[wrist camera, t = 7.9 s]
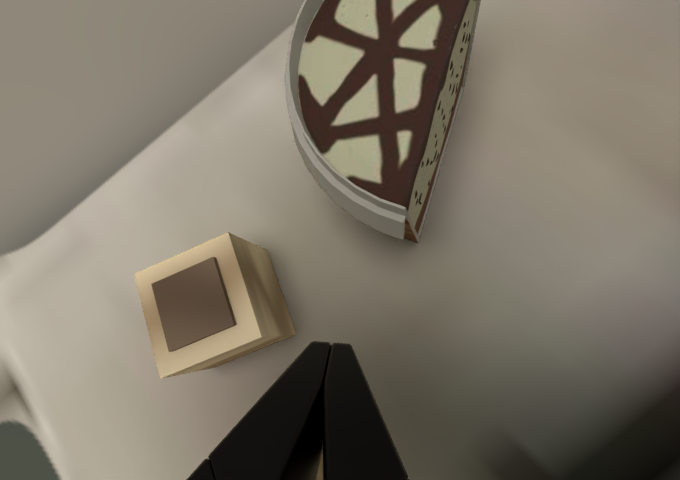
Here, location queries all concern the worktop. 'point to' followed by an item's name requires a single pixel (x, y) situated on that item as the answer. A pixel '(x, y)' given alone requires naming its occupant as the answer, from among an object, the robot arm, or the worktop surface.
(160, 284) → the number block
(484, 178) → the worktop surface
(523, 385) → the worktop surface
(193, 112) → the worktop surface
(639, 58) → the worktop surface
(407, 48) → the food container
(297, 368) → the robot arm
